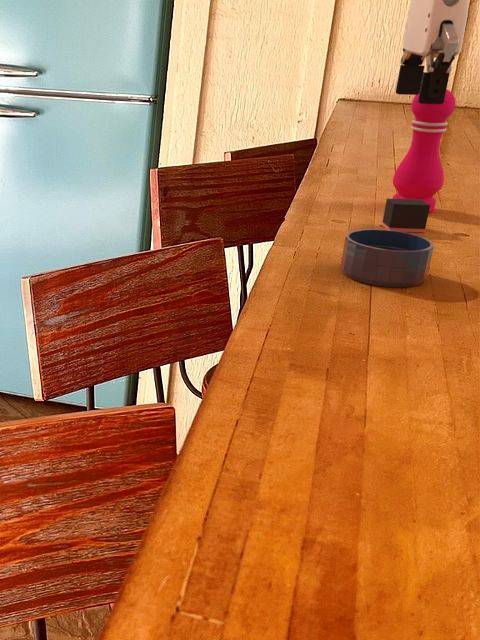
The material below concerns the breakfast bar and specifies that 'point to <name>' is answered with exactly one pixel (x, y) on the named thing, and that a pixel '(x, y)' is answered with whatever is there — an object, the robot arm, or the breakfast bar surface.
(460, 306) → the breakfast bar surface
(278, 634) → the breakfast bar surface
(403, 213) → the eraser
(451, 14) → the robot arm
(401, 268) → the bowl
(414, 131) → the pepper mill
